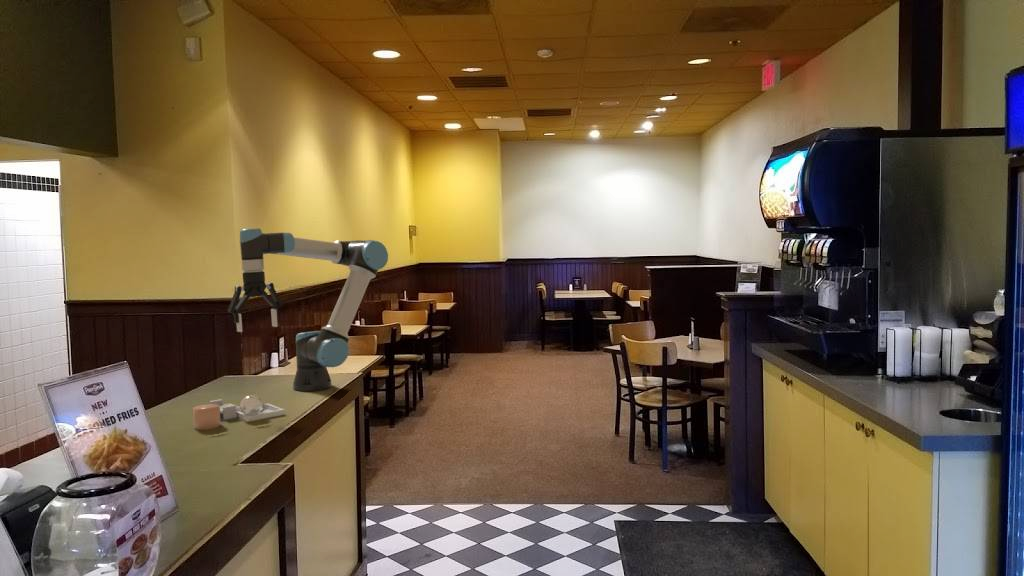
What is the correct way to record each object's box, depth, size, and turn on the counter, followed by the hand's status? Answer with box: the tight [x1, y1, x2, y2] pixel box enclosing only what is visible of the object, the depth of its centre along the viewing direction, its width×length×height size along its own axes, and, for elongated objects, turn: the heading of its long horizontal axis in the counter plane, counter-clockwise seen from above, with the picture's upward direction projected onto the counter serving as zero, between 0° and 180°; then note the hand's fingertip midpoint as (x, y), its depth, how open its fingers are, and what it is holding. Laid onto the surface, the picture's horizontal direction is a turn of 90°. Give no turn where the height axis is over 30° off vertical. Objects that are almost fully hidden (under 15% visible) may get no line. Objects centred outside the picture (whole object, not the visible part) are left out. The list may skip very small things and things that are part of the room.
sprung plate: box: [220, 403, 241, 414], centre depth 243 cm, size 9×9×1 cm
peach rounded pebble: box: [192, 403, 222, 431], centre depth 229 cm, size 8×8×7 cm
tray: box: [237, 403, 286, 423], centre depth 243 cm, size 13×13×2 cm
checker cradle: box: [208, 398, 239, 422], centre depth 243 cm, size 10×14×5 cm
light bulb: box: [239, 394, 266, 416], centre depth 240 cm, size 7×7×12 cm
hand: (257, 329), depth 259 cm, fingers open, 13 cm apart
